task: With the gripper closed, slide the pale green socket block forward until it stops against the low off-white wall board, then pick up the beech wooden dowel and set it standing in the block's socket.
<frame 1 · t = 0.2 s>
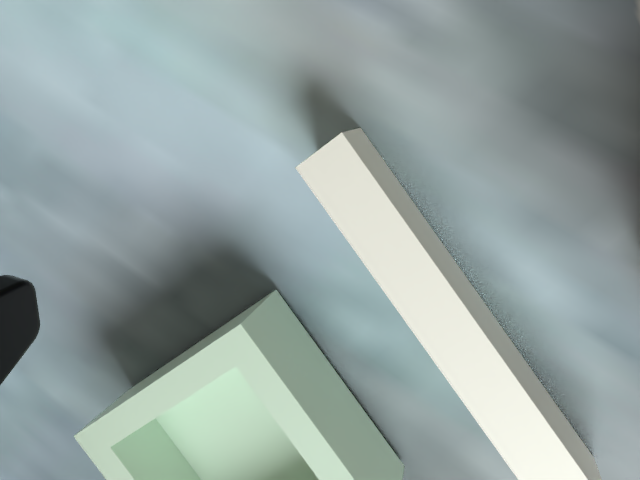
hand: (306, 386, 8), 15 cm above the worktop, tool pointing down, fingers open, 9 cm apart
socket block: (242, 451, 24), point 2 cm above the worktop, slide at 0.0 cm
wall board: (457, 308, 23), on the worktop
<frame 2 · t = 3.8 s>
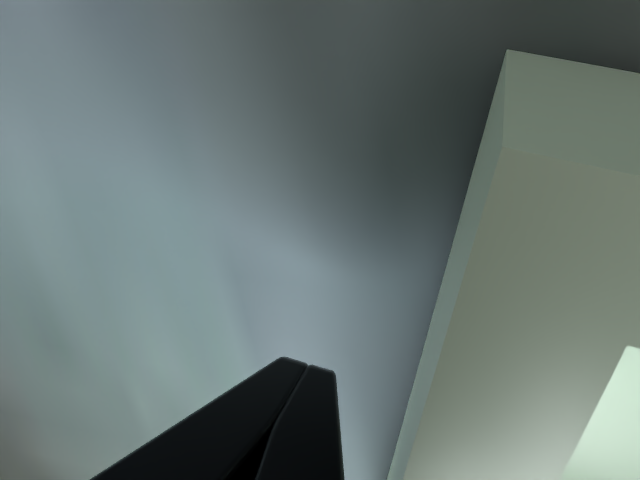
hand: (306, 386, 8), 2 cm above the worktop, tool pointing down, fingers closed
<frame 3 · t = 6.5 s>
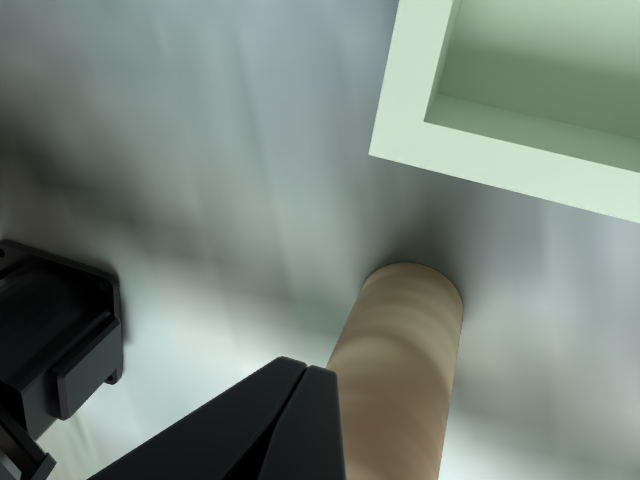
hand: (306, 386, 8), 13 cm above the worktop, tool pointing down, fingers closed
wooden dowel: (410, 307, 22), on the worktop
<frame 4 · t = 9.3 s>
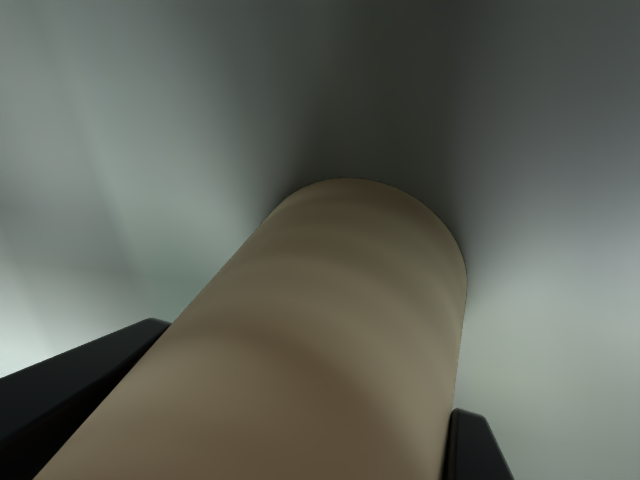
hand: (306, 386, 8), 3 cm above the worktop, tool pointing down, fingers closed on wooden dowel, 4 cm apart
wooden dowel: (356, 279, 11), on the worktop, touching gripper
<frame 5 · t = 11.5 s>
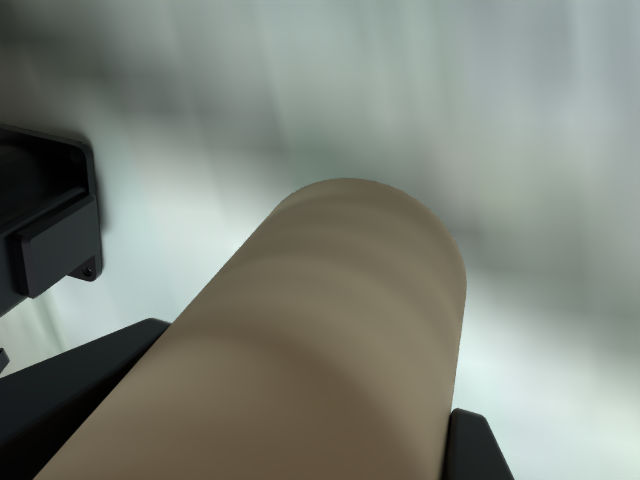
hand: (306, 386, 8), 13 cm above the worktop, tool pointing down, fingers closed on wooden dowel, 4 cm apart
wooden dowel: (356, 279, 11), point 10 cm above the worktop, touching gripper
when the fingers open (5 cm above the worktop, at t = 14.1 s): wooden dowel drops 1 cm, resting on socket block.
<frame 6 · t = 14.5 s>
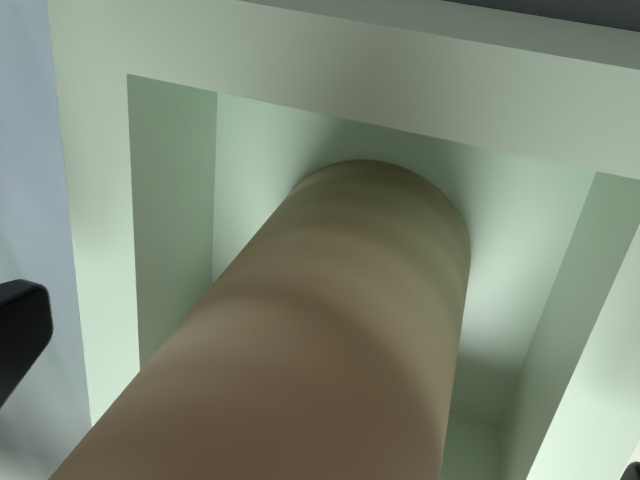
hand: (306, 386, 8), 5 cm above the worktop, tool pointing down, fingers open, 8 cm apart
socket block: (360, 274, 11), point 2 cm above the worktop, slide at 4.6 cm, touching wooden dowel
wooden dowel: (368, 252, 12), point 1 cm above the worktop, touching socket block
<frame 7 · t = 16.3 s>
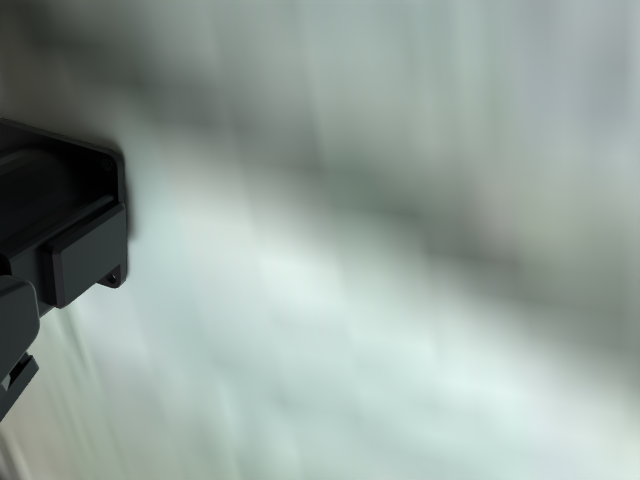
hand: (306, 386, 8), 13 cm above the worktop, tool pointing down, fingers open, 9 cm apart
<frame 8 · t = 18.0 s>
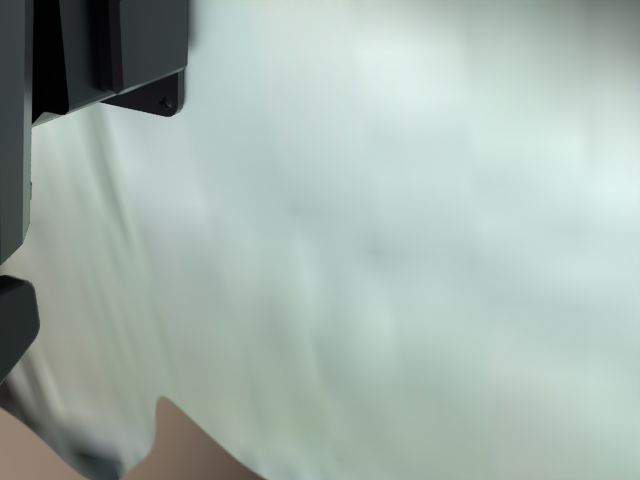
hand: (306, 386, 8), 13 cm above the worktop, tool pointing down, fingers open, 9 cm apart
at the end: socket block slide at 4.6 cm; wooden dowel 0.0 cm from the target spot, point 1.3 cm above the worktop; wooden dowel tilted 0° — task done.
